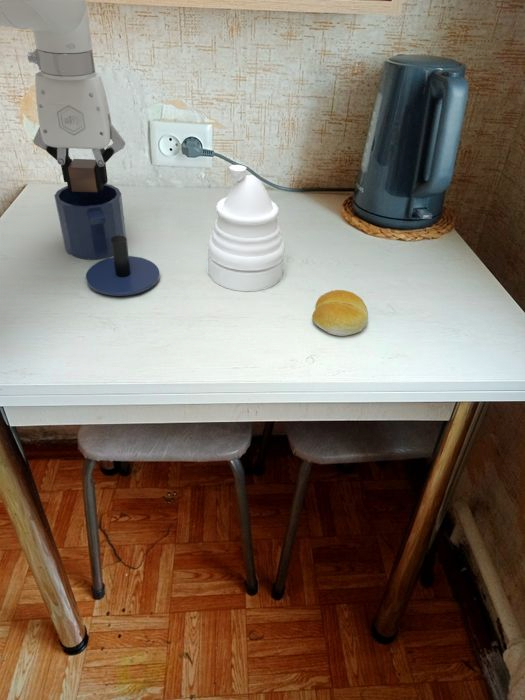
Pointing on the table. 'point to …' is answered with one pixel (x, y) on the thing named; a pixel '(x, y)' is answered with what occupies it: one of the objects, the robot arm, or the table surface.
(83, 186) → the block
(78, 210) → the pot
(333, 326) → the bread roll
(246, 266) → the honey pot
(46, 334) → the table surface
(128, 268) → the lid
